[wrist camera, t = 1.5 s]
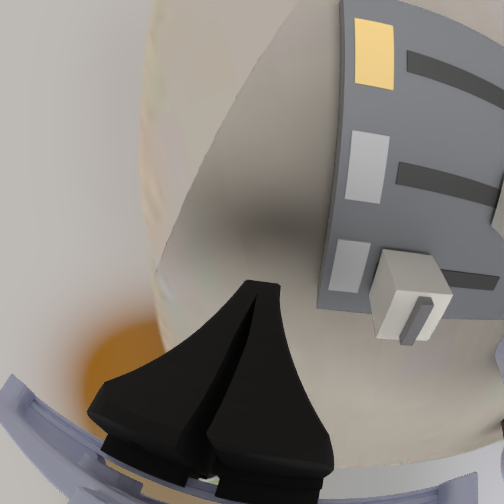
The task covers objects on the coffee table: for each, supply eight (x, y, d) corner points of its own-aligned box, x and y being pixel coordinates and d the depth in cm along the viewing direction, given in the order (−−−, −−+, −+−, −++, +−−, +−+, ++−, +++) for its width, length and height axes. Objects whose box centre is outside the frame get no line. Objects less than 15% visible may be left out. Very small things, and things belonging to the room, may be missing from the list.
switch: (432, 255, 11) (457, 302, 8) (414, 299, 13) (430, 348, 10) (382, 248, 12) (399, 298, 9) (368, 294, 13) (376, 347, 10)
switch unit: (552, 95, 5) (571, 100, 3) (497, 301, 14) (507, 320, 12) (339, 4, 8) (342, -12, 6) (317, 285, 16) (316, 309, 14)
